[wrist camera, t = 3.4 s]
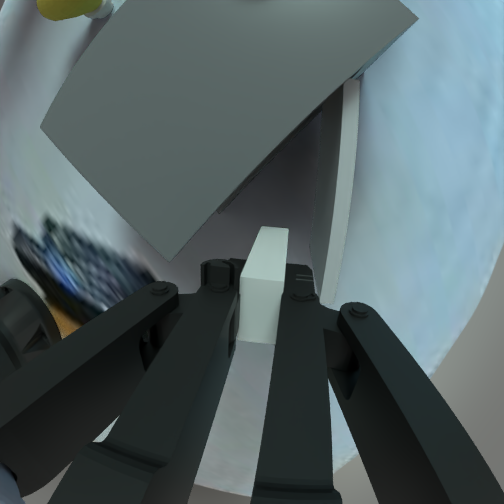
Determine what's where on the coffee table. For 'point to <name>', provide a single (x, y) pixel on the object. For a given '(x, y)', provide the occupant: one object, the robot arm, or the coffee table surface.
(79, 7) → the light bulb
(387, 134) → the coffee table surface
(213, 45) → the small grey cabinet
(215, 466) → the coffee table surface
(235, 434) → the coffee table surface
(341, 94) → the cabinet door
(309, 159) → the coffee table surface
